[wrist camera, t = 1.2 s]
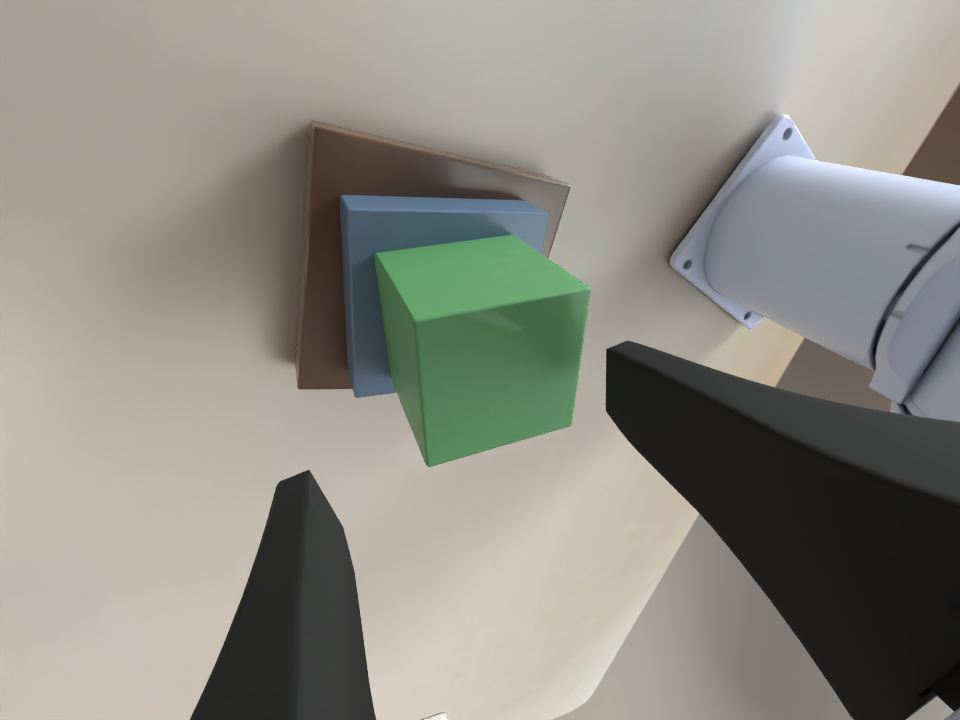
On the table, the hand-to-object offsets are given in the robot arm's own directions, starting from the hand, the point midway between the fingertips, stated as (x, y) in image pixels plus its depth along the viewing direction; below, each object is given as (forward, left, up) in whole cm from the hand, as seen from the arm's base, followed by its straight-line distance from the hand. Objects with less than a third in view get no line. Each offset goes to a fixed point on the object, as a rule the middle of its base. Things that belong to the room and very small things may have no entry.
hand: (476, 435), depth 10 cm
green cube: (-1, -1, -6) cm, 6 cm away
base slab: (-1, -1, -10) cm, 10 cm away
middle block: (-1, -1, -8) cm, 8 cm away
